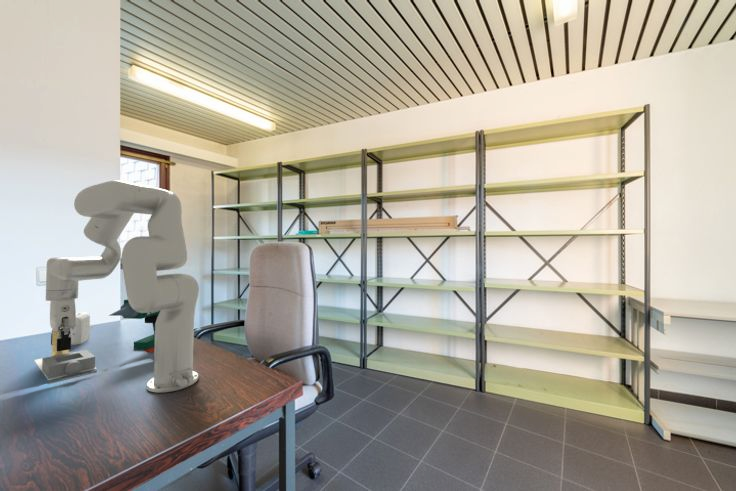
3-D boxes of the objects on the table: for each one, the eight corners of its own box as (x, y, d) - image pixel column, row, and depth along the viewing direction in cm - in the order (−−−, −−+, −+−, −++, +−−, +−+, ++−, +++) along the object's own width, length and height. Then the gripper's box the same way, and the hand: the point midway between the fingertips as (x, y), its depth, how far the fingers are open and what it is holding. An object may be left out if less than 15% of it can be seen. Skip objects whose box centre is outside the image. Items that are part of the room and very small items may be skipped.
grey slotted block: (97, 373, 92) (97, 357, 92) (48, 385, 84) (49, 368, 84) (77, 354, 107) (77, 341, 107) (33, 363, 99) (34, 349, 99)
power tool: (118, 368, 97) (120, 305, 97) (96, 367, 97) (98, 305, 97) (181, 338, 129) (183, 291, 129) (165, 337, 129) (166, 291, 129)
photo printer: (81, 347, 115) (82, 314, 115) (66, 348, 113) (67, 315, 113) (91, 339, 124) (91, 309, 124) (77, 340, 122) (78, 310, 122)
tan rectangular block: (70, 359, 100) (71, 329, 100) (52, 362, 96) (53, 331, 97) (67, 356, 102) (68, 327, 102) (50, 359, 99) (51, 329, 99)
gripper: (84, 296, 97) (82, 350, 97) (71, 290, 108) (70, 339, 107) (51, 299, 91) (49, 356, 91) (41, 293, 101) (39, 344, 101)
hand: (60, 347), depth 99 cm, fingers open, 8 cm apart
